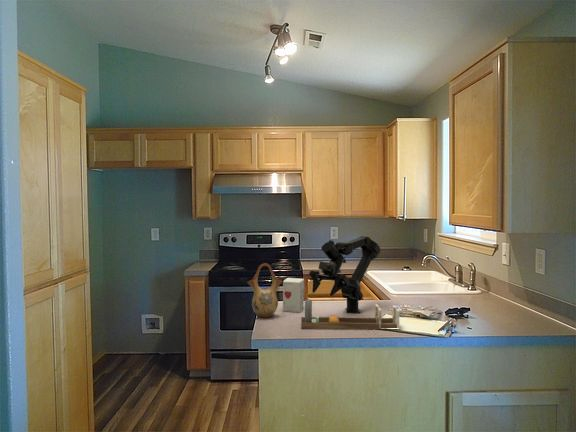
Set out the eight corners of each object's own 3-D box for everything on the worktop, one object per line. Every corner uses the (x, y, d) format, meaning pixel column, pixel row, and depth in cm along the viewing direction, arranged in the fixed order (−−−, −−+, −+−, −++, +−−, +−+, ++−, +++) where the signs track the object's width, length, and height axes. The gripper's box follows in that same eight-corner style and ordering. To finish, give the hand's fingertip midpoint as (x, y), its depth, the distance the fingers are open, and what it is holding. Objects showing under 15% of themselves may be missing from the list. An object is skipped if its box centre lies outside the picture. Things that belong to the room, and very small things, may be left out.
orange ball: (328, 324, 168) (328, 314, 168) (338, 324, 168) (338, 314, 168) (329, 327, 164) (329, 317, 164) (339, 327, 164) (339, 317, 164)
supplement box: (282, 311, 188) (282, 281, 188) (286, 306, 197) (286, 277, 196) (300, 312, 186) (300, 281, 186) (304, 307, 195) (304, 278, 194)
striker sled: (304, 323, 169) (304, 297, 169) (318, 323, 169) (318, 298, 168) (304, 327, 164) (304, 301, 163) (319, 327, 163) (319, 301, 163)
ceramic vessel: (247, 319, 175) (247, 265, 174) (247, 314, 184) (247, 262, 183) (283, 318, 176) (283, 264, 175) (281, 313, 185) (281, 261, 184)
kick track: (301, 322, 171) (301, 303, 170) (394, 323, 169) (394, 304, 169) (301, 328, 162) (301, 308, 162) (399, 329, 161) (399, 309, 161)
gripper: (310, 252, 178) (296, 281, 170) (345, 256, 166) (332, 286, 158) (320, 267, 185) (307, 294, 177) (355, 271, 173) (342, 301, 165)
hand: (321, 294), depth 169 cm, fingers open, 9 cm apart
